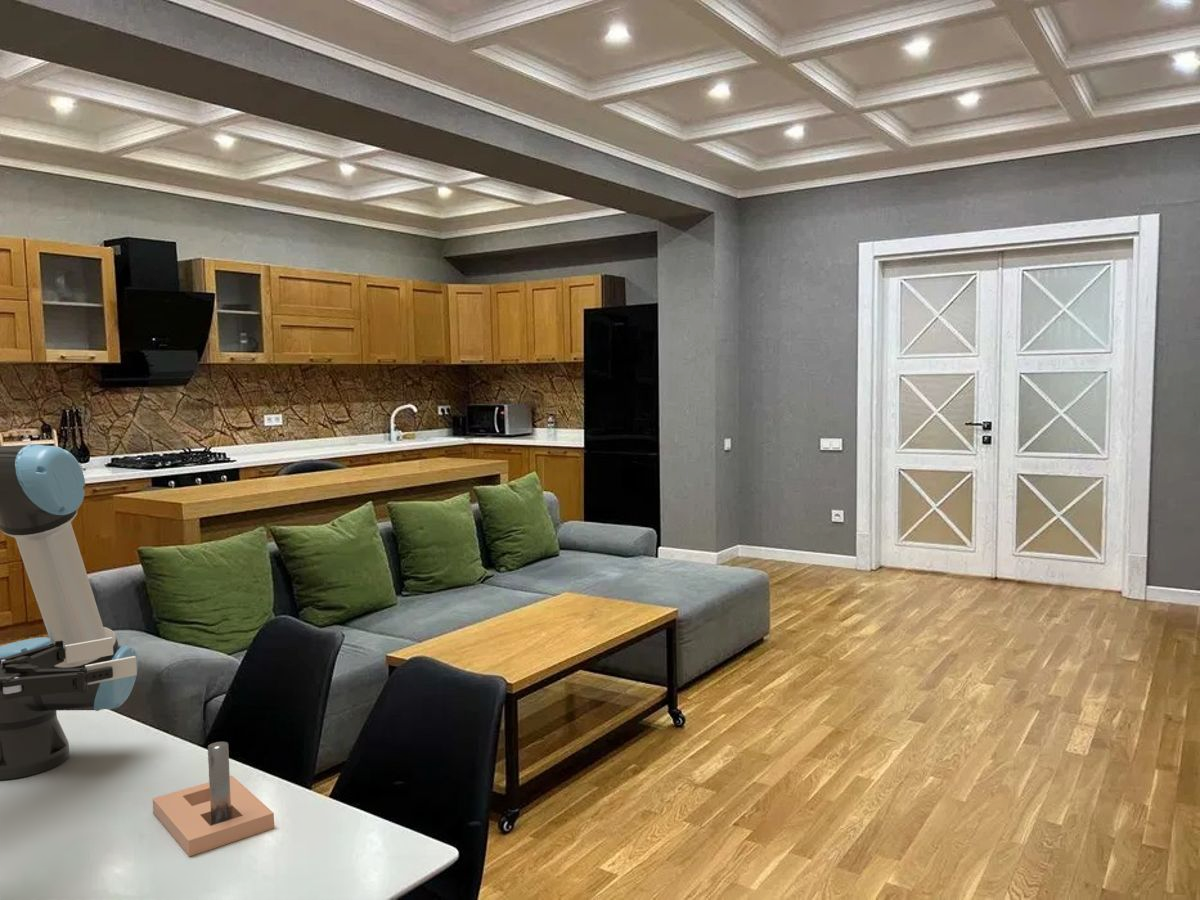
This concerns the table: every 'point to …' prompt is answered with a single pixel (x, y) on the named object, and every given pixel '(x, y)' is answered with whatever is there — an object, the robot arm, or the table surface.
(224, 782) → the steel dowel
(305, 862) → the table surface
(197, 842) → the terracotta block
